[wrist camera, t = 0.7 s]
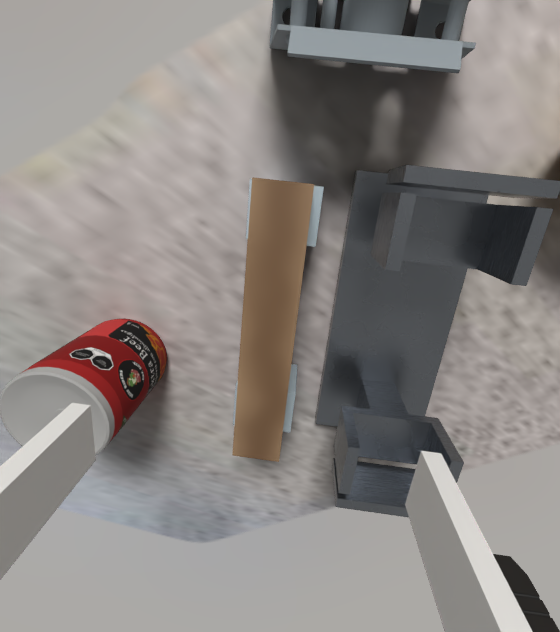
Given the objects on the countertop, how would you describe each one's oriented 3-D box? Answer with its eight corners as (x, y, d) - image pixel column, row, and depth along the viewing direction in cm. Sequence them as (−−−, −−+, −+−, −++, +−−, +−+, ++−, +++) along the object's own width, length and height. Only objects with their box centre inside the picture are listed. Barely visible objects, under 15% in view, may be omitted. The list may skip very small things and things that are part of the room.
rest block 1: (255, 231, 30) (245, 238, 25) (259, 181, 28) (249, 178, 24) (314, 238, 29) (315, 246, 25) (321, 188, 28) (323, 186, 23)
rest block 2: (243, 393, 35) (233, 424, 30) (245, 358, 34) (235, 384, 29) (292, 400, 35) (290, 432, 30) (297, 364, 33) (295, 392, 29)
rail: (240, 426, 30) (232, 455, 27) (260, 179, 24) (252, 177, 20) (282, 431, 30) (278, 461, 27) (313, 185, 23) (314, 184, 20)
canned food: (180, 378, 35) (126, 455, 25) (109, 392, 36) (30, 472, 26) (152, 307, 33) (80, 360, 22) (77, 325, 34) (-24, 383, 24)
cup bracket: (315, 416, 35) (318, 506, 25) (355, 171, 27) (383, 158, 17) (415, 429, 35) (459, 526, 25) (484, 185, 27) (589, 179, 17)
